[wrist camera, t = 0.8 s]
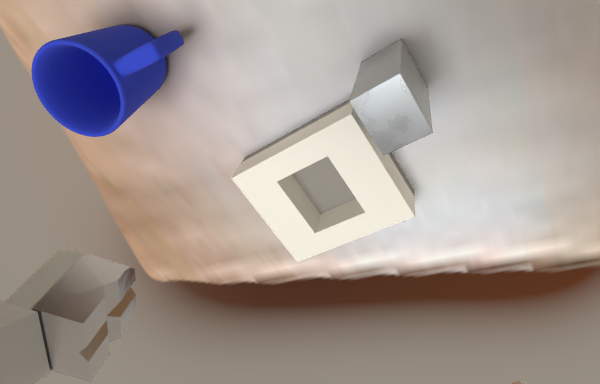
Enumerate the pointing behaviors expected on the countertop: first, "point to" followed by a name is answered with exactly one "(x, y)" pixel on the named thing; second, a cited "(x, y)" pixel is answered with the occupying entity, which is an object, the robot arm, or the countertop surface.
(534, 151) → the countertop surface
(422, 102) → the grey brushed prism
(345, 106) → the well block
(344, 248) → the countertop surface
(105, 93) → the mug
